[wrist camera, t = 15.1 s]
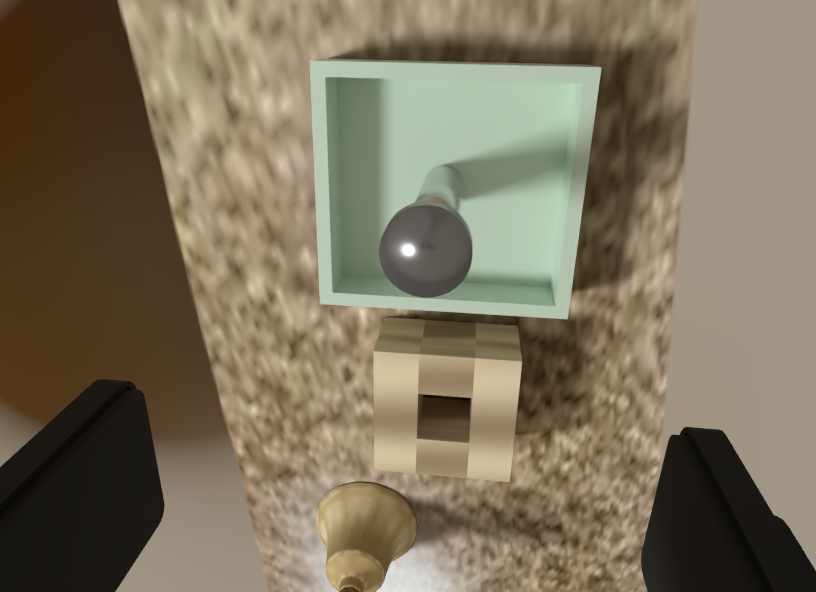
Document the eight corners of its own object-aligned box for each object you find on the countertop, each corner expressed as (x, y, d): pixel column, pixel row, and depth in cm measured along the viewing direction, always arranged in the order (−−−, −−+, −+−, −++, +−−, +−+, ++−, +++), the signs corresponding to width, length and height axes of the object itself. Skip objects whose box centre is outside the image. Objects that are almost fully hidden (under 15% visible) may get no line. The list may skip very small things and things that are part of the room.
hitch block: (385, 317, 42) (373, 351, 37) (517, 325, 41) (522, 361, 36) (384, 426, 45) (373, 470, 41) (506, 436, 44) (509, 481, 40)
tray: (327, 58, 35) (309, 60, 32) (588, 64, 34) (601, 67, 30) (334, 280, 41) (320, 303, 37) (559, 293, 40) (567, 319, 36)
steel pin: (413, 151, 36) (378, 206, 24) (477, 154, 36) (475, 210, 24) (411, 213, 38) (378, 295, 25) (473, 216, 37) (469, 300, 25)
